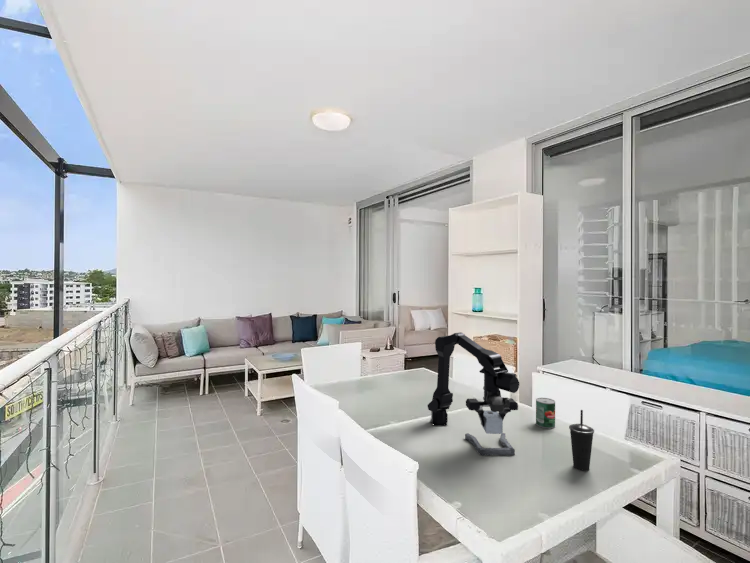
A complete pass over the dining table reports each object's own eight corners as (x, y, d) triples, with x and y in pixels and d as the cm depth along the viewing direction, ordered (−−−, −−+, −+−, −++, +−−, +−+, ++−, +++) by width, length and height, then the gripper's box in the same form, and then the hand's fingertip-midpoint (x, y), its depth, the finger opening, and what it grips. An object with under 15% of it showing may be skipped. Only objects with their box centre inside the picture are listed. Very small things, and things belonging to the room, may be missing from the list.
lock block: (486, 433, 142) (486, 418, 142) (480, 424, 151) (480, 410, 151) (502, 433, 142) (502, 418, 142) (496, 424, 151) (496, 410, 151)
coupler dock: (474, 455, 140) (475, 450, 140) (464, 438, 155) (464, 433, 155) (519, 454, 140) (519, 449, 140) (504, 437, 155) (504, 432, 155)
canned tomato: (538, 420, 174) (538, 396, 174) (556, 424, 169) (556, 399, 169) (533, 425, 167) (534, 401, 167) (553, 430, 163) (553, 404, 163)
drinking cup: (564, 462, 135) (564, 406, 134) (584, 461, 135) (585, 405, 135) (577, 473, 127) (578, 414, 127) (599, 472, 128) (599, 413, 127)
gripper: (473, 392, 138) (473, 435, 138) (524, 392, 138) (523, 434, 139) (465, 383, 149) (465, 423, 150) (512, 383, 150) (512, 422, 150)
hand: (491, 426), depth 147 cm, fingers closed on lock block, 6 cm apart
